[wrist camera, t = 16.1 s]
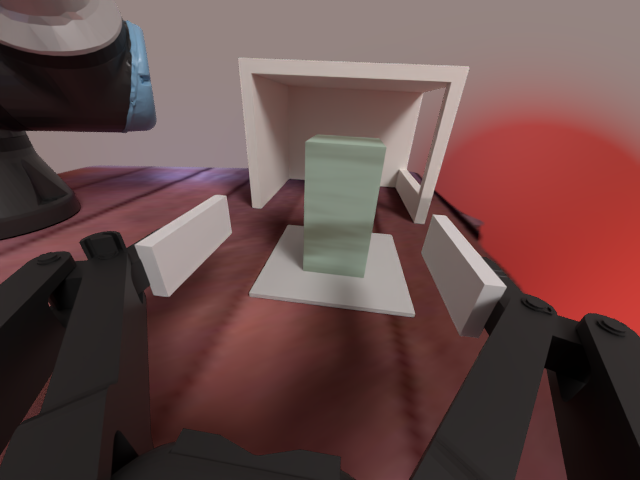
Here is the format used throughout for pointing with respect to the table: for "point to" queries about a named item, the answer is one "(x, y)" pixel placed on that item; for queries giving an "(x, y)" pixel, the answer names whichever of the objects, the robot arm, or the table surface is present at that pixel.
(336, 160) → the sage block
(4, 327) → the robot arm
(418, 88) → the nook cabinet
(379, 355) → the table surface
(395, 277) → the grey mat
